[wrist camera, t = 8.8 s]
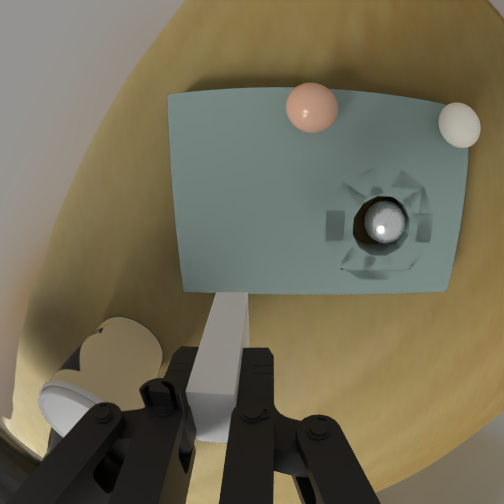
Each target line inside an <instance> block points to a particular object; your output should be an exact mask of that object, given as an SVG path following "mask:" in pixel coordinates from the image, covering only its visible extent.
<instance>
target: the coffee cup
mask: <svg viewBox="0 0 504 504" xmlns="http://www.w3.org/2000/svg"><path fill="white" fill-rule="evenodd" d="M161 362H162V349H161V346H160V344H159V342H158V340H157V339H156V338H155V336H154V335H153V334H152V333H151V332H150V331H149V330H148V329H147V328H146V327H144V326H143V325H141V324H140V323H138V322H136V321H134V320H131V319H128V318H123V317H114V318H110V319H107V320H106V321H104V322H103V323H102V324H101V325H100V326H99V327H98V328H97V329H96V330H95V331H94V332H93V333H92V334H91V335H90V336H89V337H88V338H87V339H86V340H85V341H84V342H83V343H82V345H81V346H80V347H79V348H78V349H77V350H76V351H75V352H74V353H73V354H72V355H71V356H70V357H69V359H68V360H67V361H66V362H65V363H64V364H63V365H62V366H61V367H60V369H59V370H58V371H57V372H56V373H55V374H54V376H53V377H52V378H51V379H50V380H49V381H48V382H46V383H45V384H44V385H43V386H42V387H41V389H40V392H39V399H38V403H39V408H40V411H41V413H42V415H43V416H44V418H45V419H46V421H47V422H48V423H49V424H50V425H51V426H52V428H53V429H54V430H55V431H56V432H58V433H59V434H60V435H61V436H62V437H63V438H64V437H65V435H66V434H67V433H68V432H69V431H70V430H71V429H72V428H73V426H74V425H75V424H76V423H77V422H78V421H79V420H80V419H81V418H82V417H83V415H84V414H85V413H86V412H87V411H88V410H89V409H90V408H91V407H92V406H94V405H95V404H98V403H101V402H111V403H114V404H116V405H117V406H119V408H120V409H121V411H127V410H136V409H141V408H144V407H145V405H144V402H143V400H142V397H141V394H140V391H139V389H140V387H141V386H142V385H143V384H144V383H145V382H147V381H149V380H152V379H155V378H157V375H158V372H159V369H160V366H161Z"/></svg>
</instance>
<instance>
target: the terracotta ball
mask: <svg viewBox="0 0 504 504" xmlns="http://www.w3.org/2000/svg"><path fill="white" fill-rule="evenodd" d="M286 113H287V116H288V118H289V120H290V122H291V123H292V124H293V125H294V126H295V127H296V128H298V129H299V130H301V131H304V132H307V133H319V132H322V131H325V130H326V129H328V128H329V127H331V126H332V124H333V123H334V122H335V120H336V118H337V115H338V103H337V100H336V98H335V96H334V94H333V93H332V92H331V91H330V90H329V89H328V88H326V87H325V86H323V85H320V84H317V83H304V84H301V85H299V86H297V87H296V88H294V89H293V90H292V91H291V92H290V94H289V95H288V97H287V100H286Z"/></svg>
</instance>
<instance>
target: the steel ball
mask: <svg viewBox="0 0 504 504" xmlns="http://www.w3.org/2000/svg"><path fill="white" fill-rule="evenodd" d="M365 228H366V231H367V233H368V234H369V236H370V237H371V238H372V239H374V240H375V241H377V242H380V243H391V242H393V241H395V240H397V239H398V238H399V237H400V236H401V235H402V233H403V231H404V228H405V216H404V213H403V211H402V210H401V209H400V207H399V206H398V205H396V204H395V203H393V202H390V201H379V202H376V203H374V204H373V205H372V206H371V207H370V208H369V209H368V210H367V212H366V215H365Z"/></svg>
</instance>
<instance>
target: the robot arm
mask: <svg viewBox="0 0 504 504" xmlns="http://www.w3.org/2000/svg"><path fill="white" fill-rule="evenodd" d="M249 341H250V335H249V310H248V292H216V294H215V297H214V301H213V304H212V307H211V310H210V313H209V317H208V320H207V323H206V326H205V329H204V333H203V336H202V339H201V342H200V346H199V347H186V346H181V347H180V348H179V349H178V350H177V351H176V352H175V353H174V354H173V356H172V359H171V361H170V364H169V367H168V369H167V372H166V374H165V377H164V378H155V379H152V380H149V381H147V382H145V383H144V384H143V385H142V386H141V387H140V389H139V391H140V394H141V397H142V400H143V402H144V405H145V407H144V408H141V409H136V410H127V411H121V409H120V408H119V406H117V405H116V404H114V403H111V402H101V403H98V404H95V405H94V406H92V407H91V408H90V409H89V410H88V411H87V412H86V413H85V414H84V415H83V417H82V418H81V419H80V420H79V421H78V422H77V423H76V424H75V425H74V426H73V428H72V429H71V430H70V431H69V432H68V433H67V434H66V435H65V437H64V438H63V437H62V436H61V435H60V434H59V433H58V432H56V431H55V430H54V429H53V428H52V426H51V431H50V435H49V441H48V448H47V452H46V454H45V456H44V458H43V459H42V461H40V460H39V459H38V458H37V457H36V456H34V455H33V454H32V453H31V452H29V451H28V450H27V449H26V448H25V447H24V446H22V445H21V444H20V443H19V442H18V441H17V440H16V439H14V438H13V437H12V436H11V435H10V434H9V433H8V432H7V431H6V430H5V429H4V428H3V427H2V426H1V425H0V504H185V503H186V498H187V493H188V488H189V483H190V478H191V473H192V469H193V464H194V459H195V454H196V450H195V445H194V441H195V437H196V435H197V439H198V441H205V442H218V443H227V449H226V456H225V464H224V471H223V478H222V486H221V493H220V500H219V504H273V484H274V471H277V472H280V473H284V474H288V475H292V478H293V480H294V483H295V486H296V489H297V492H298V495H299V497H300V500H301V503H302V504H380V502H379V500H378V498H377V496H376V494H375V492H374V490H373V488H372V486H371V485H370V483H369V481H368V479H367V477H366V475H365V473H364V471H363V469H362V467H361V466H360V464H359V462H358V460H357V458H356V456H355V454H354V452H353V450H352V448H351V447H350V445H349V443H348V441H347V439H346V437H345V435H344V433H343V431H342V429H341V428H340V426H339V424H338V423H337V422H336V421H335V420H334V419H332V418H331V417H329V416H325V415H311V416H309V417H306V418H304V419H303V420H302V421H299V420H295V419H291V418H288V417H285V416H284V415H282V414H280V413H279V412H278V411H277V409H276V407H275V405H274V356H273V354H272V353H271V351H270V350H269V348H249Z"/></svg>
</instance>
